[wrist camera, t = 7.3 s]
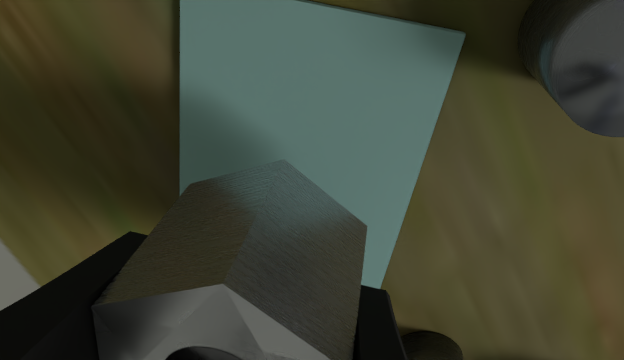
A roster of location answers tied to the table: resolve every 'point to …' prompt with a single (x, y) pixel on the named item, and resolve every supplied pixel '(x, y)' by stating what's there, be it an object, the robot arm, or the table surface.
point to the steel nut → (240, 275)
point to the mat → (314, 102)
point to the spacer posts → (562, 90)
